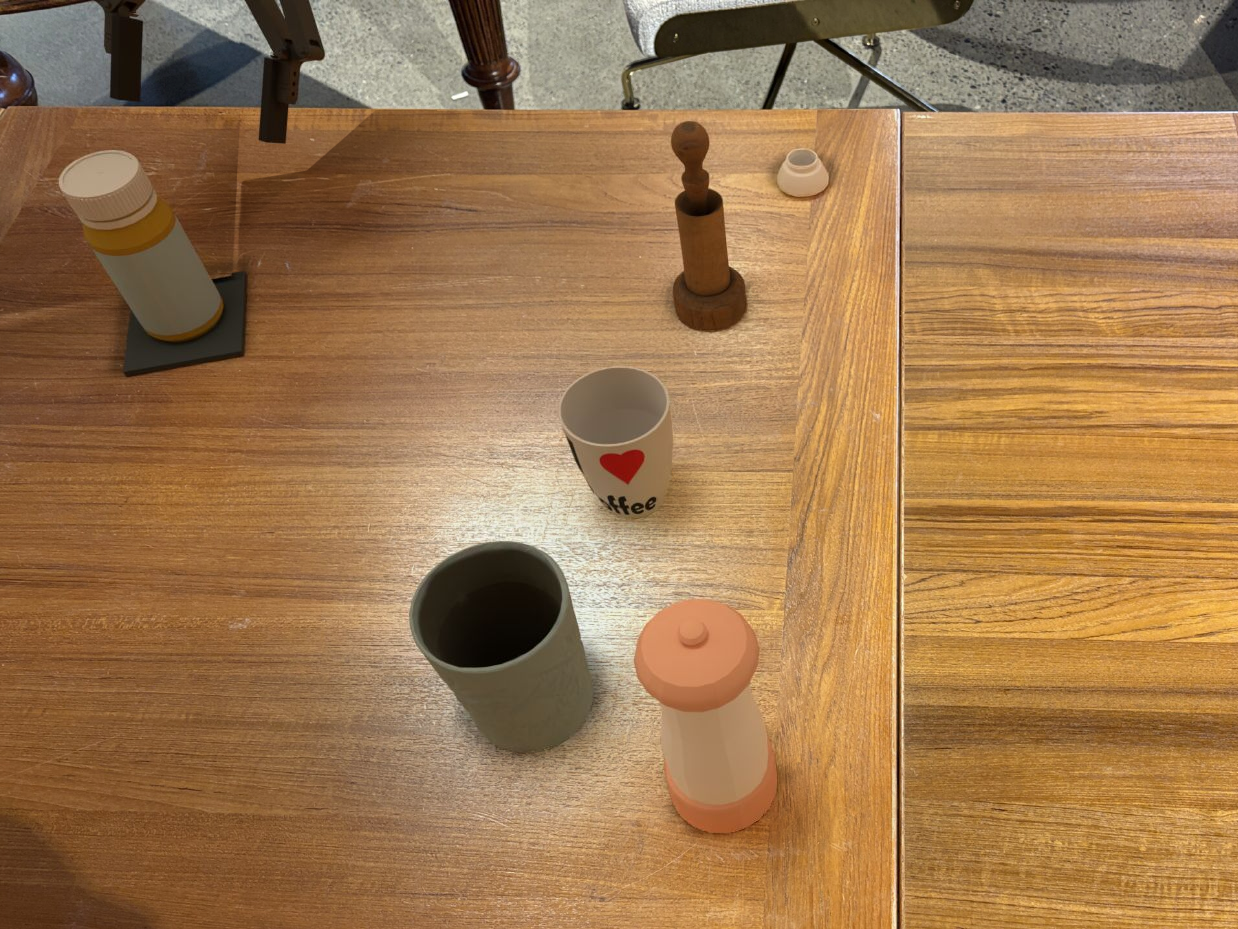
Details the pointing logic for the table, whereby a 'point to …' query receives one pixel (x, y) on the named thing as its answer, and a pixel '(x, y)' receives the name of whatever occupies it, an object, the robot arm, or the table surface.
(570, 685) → the grey cylindrical pot
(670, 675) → the pepper shaker
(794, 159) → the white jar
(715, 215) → the mortar and pestle
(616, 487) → the cup
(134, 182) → the bottle
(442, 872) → the table surface
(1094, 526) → the table surface
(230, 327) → the mat
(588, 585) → the table surface
